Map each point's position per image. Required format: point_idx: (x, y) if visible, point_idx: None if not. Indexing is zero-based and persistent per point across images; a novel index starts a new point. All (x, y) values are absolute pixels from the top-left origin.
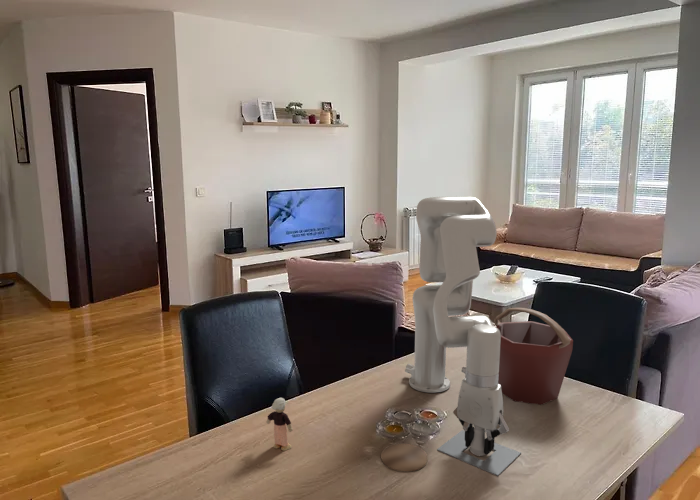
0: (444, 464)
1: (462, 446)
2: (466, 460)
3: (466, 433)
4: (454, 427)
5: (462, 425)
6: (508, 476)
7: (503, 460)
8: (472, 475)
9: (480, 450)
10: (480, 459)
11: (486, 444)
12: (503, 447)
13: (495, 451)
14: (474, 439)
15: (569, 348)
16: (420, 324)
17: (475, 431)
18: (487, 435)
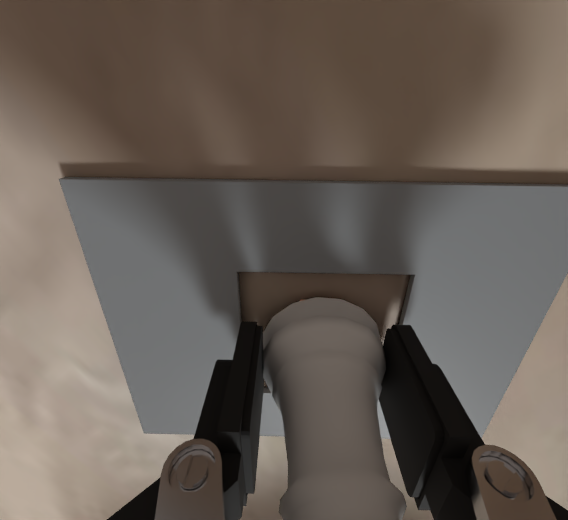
0: (491, 16)
1: (429, 324)
2: (338, 196)
3: (456, 420)
4: (525, 438)
5: (552, 501)
6: (28, 224)
7: (156, 340)
8: (200, 37)
9: (287, 330)
10: (263, 270)
11: (230, 386)
12: None
13: None
14: (359, 393)
15: None
16: None
17: (372, 485)
18: (211, 491)
